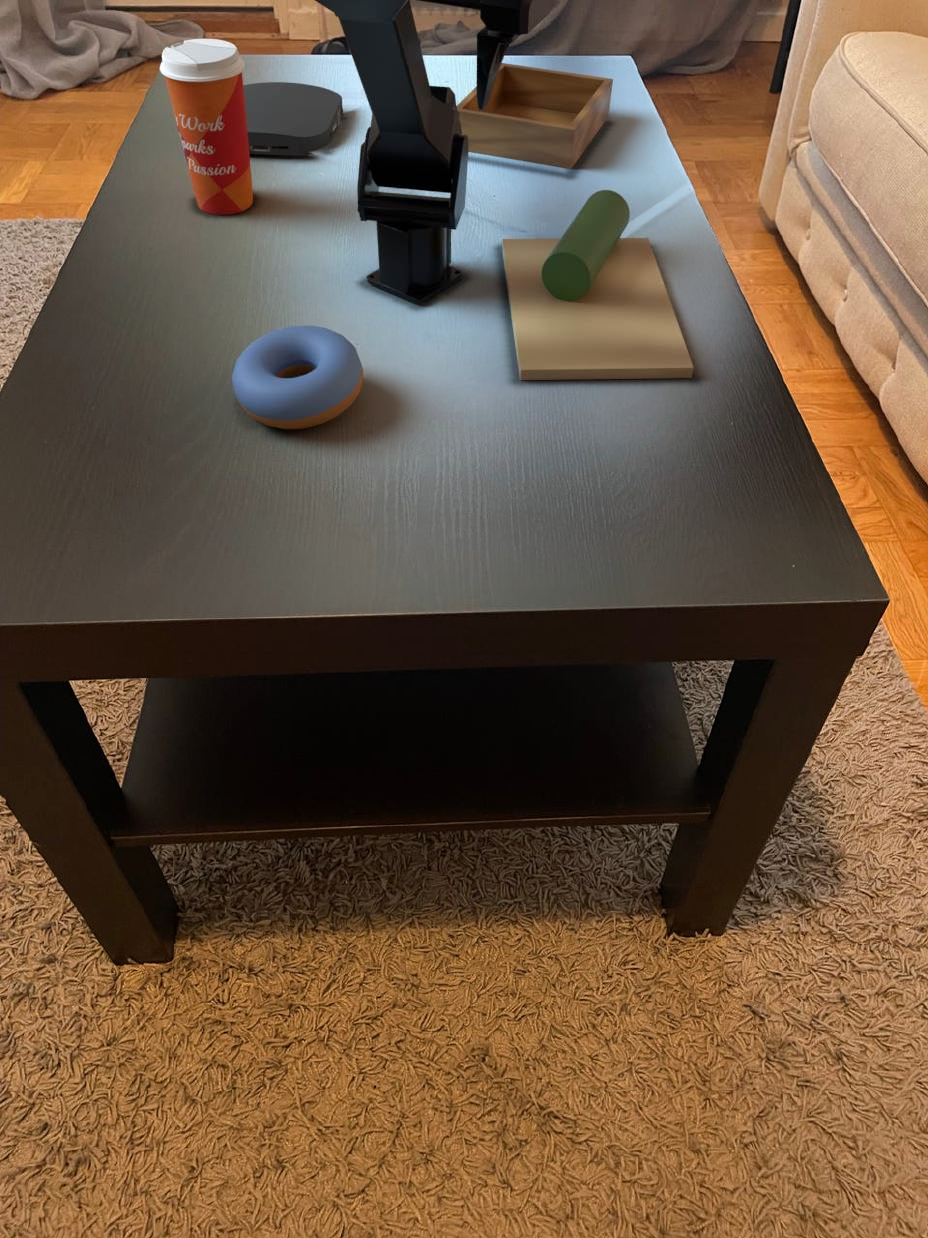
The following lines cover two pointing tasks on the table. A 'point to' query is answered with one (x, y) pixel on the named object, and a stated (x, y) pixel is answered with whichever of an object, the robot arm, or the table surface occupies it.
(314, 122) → the media streaming box
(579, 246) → the cucumber
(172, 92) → the paper cup
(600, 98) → the wooden box
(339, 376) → the doughnut
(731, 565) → the table surface
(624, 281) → the cutting board
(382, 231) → the robot arm
